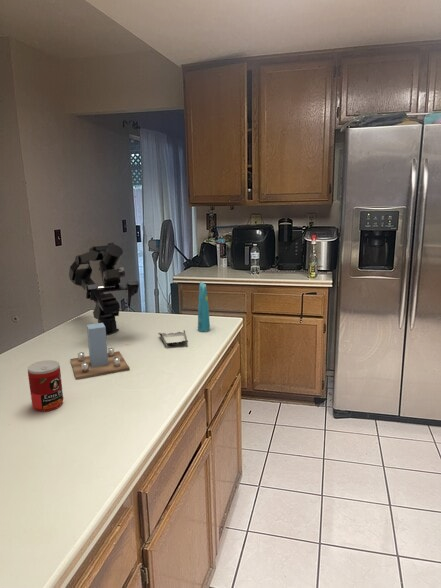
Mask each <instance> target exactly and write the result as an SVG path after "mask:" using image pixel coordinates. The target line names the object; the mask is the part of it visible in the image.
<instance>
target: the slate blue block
mask: <svg viewBox="0 0 441 588" xmlns="http://www.w3.org/2000/svg"><path fill="white" fill-rule="evenodd" d="M86 333H87V343H88V356H90V363H91V366H92V367H97V366H103V365H108V345H107V343H108V342H107V334H106V327H105V325H104V324H103V323H98V322H97V323H91V324H90V323H89V324H86Z"/></svg>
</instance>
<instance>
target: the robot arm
mask: <svg viewBox="0 0 441 588" xmlns="http://www.w3.org/2000/svg"><path fill="white" fill-rule="evenodd" d="M123 252H124V251H123V248H121V246H119V245H117V244H115V243H114V242H108V243H107V244H101V245H92V246H91V247H90V248H89V249H88V251H86V252H84V253H81V254H78V255H76V256H75V259H74V261H73V263H72V264H71V265H70V267H69V273H68V277H69V280H70V281H71V282H72V284H73V285H76V286H79V287H82V289H83V291H85V298H86V299H87V300H90V301H93V302H94V303H95V307H94V309H93V312H92V314H93V318H94V319H95V320H97V323H103V324H104V325H105V327H106V336H107V335H111V334H113V333H115V332H117V331H119V328H118V327H117V320H116V317H119V316H120V308H121V306H120V303H119V301H118V300H117V297H115V296H114V294H113V293H112V292H121V291H125V293H126V295H125V296H126V302H127V303H126V304H127V307H128V308H129V309H131V301H132V297H133V296H135V295H136V294H137V293H138V291H139V287H140V283H139V281H138V280H137V279H132V280H131V279H130V280H126V282H125V284H120V283H121V278H124V277H125V276H126V272H125V267H123V266H122V267H118V268H116V265H118V264H119V262H120V260H121V258H122V255H123V254H124V253H123ZM93 262H99V263H98V271H100V276H101V281H102V282H101V283H102V286H98V283H96V282H95V281H94V280H93V279H92V273H93V268H92V266H91V263H93ZM81 265H87V267H81V268H79V267H80V266H81Z"/></svg>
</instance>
